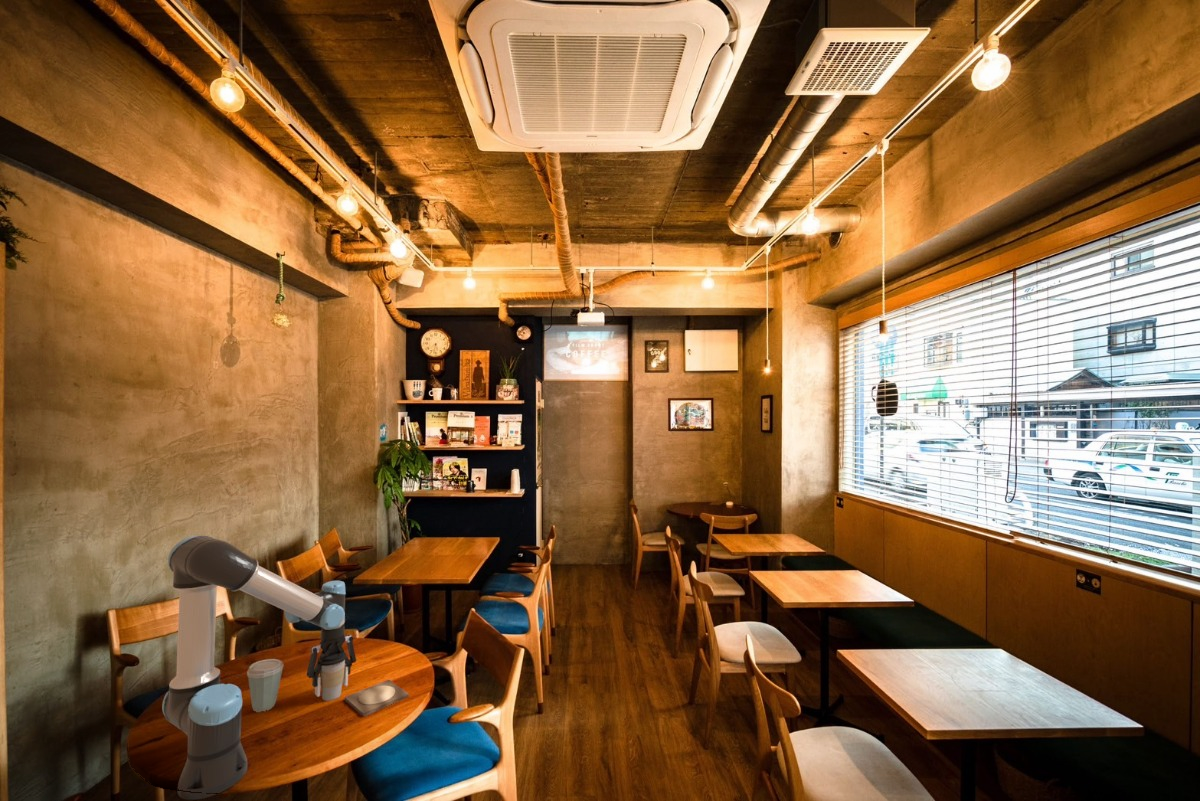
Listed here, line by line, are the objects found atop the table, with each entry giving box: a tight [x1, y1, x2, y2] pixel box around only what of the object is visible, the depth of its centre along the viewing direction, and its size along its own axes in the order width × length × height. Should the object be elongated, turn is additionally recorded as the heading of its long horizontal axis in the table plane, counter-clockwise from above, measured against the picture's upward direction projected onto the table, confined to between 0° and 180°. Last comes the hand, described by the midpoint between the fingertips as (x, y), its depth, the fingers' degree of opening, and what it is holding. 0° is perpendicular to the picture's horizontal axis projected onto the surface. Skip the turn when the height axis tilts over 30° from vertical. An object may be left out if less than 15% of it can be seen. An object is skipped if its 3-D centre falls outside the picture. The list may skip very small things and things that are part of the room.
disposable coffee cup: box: [246, 658, 284, 713], centre depth 172 cm, size 11×11×15 cm
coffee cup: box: [316, 650, 348, 702], centre depth 179 cm, size 9×9×15 cm
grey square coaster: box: [344, 679, 410, 718], centre depth 177 cm, size 16×15×2 cm
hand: (331, 689), depth 179 cm, fingers open, 9 cm apart
